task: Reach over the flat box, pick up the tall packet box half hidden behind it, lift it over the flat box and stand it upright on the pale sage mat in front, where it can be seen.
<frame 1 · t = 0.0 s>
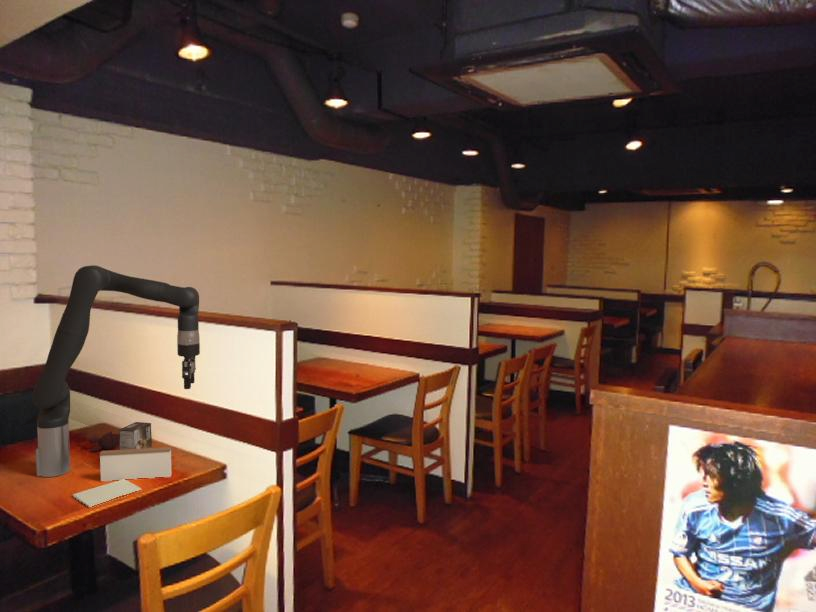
hand: (189, 386, 201), 29 cm above the table, tool pointing down, fingers open, 8 cm apart
coffee box: (136, 469, 198), on the table
mat: (107, 493, 178), on the table
icecream: (111, 449, 218), on the table
flat box: (136, 478, 190), on the table
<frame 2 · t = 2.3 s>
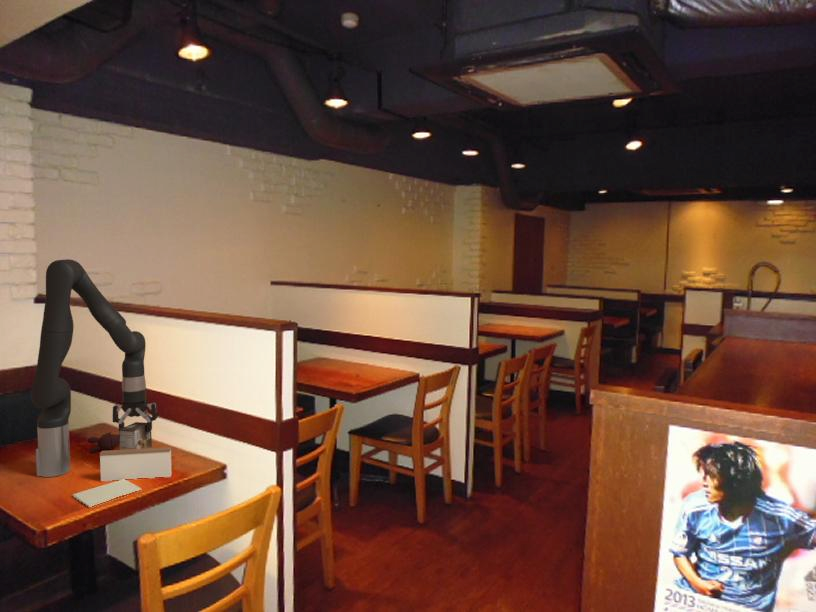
hand: (135, 432, 197), 14 cm above the table, tool pointing down, fingers open, 8 cm apart
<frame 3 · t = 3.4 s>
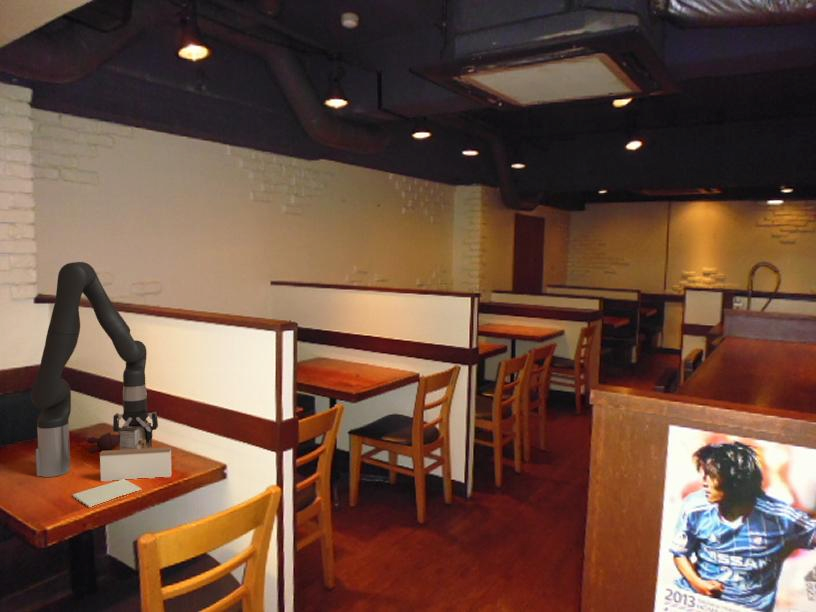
hand: (136, 441, 197), 10 cm above the table, tool pointing down, fingers closed on coffee box, 8 cm apart
coffee box: (137, 469, 198), on the table, touching gripper
everything else where it was.
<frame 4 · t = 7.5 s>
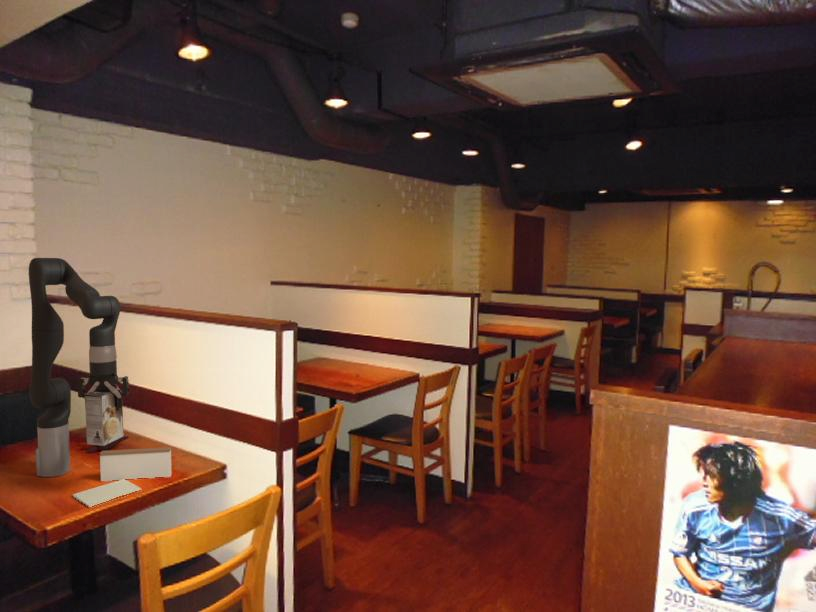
hand: (104, 409, 175), 28 cm above the table, tool pointing down, fingers closed on coffee box, 8 cm apart
coffee box: (105, 441, 176), point 17 cm above the table, touching gripper
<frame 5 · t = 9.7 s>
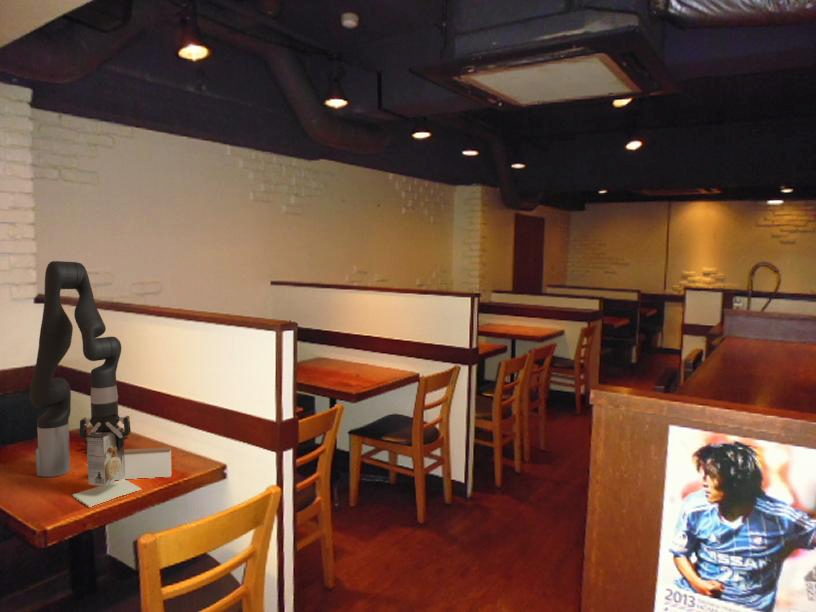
hand: (106, 449, 176), 15 cm above the table, tool pointing down, fingers closed on coffee box, 8 cm apart
coffee box: (107, 480, 177), point 4 cm above the table, touching gripper
when the fingers open (12 cm above the table, at t = 11.5 s): coffee box drops 1 cm, resting on mat.
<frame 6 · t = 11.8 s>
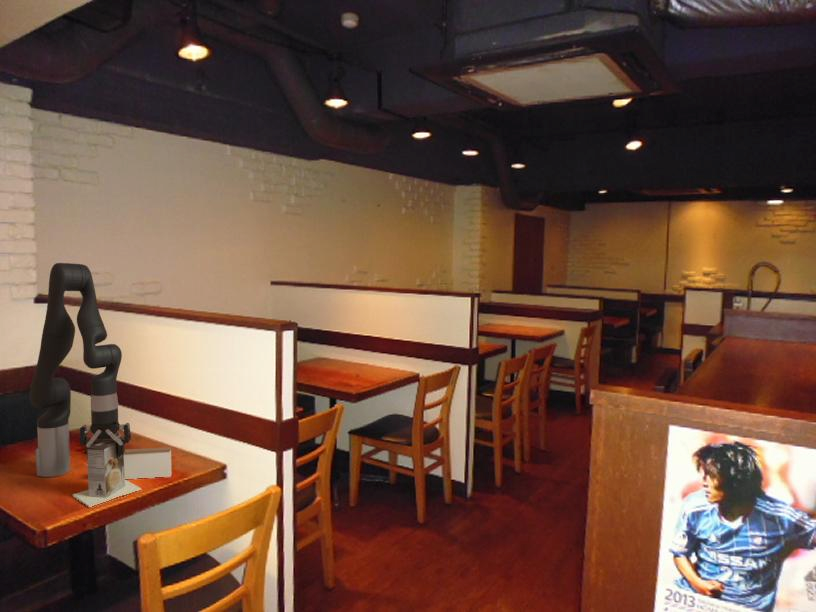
hand: (106, 456, 176), 12 cm above the table, tool pointing down, fingers open, 8 cm apart
coffee box: (107, 492, 178), point 1 cm above the table, touching mat
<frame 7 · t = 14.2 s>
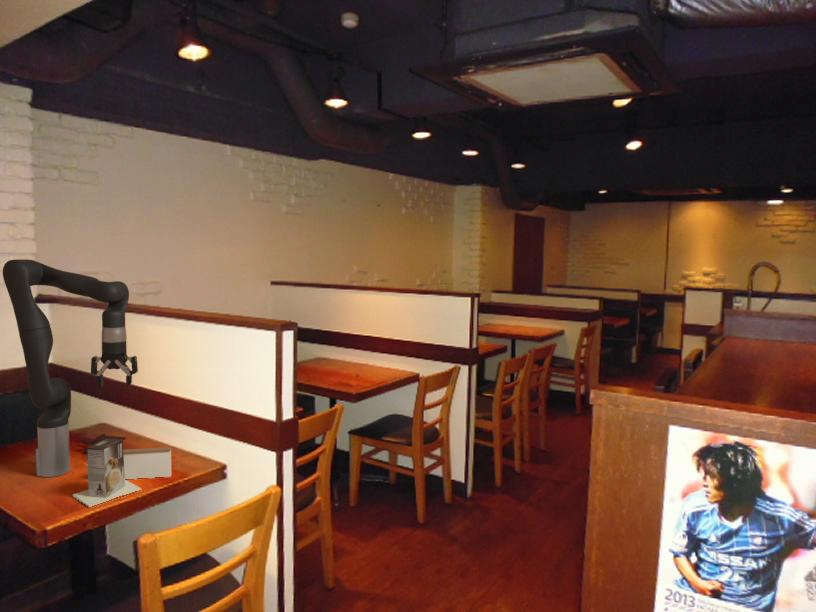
hand: (114, 386, 190), 32 cm above the table, tool pointing down, fingers open, 8 cm apart
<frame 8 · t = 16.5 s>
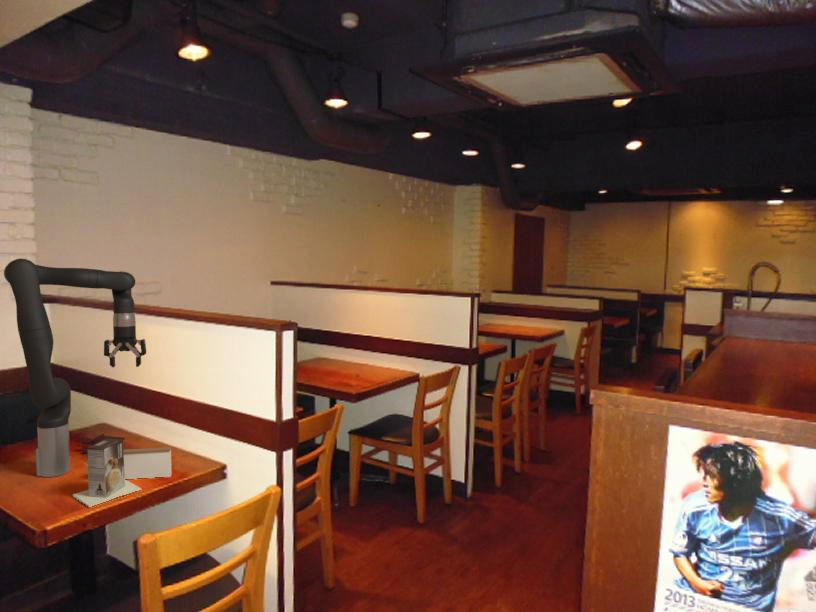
hand: (125, 366, 210), 34 cm above the table, tool pointing down, fingers open, 8 cm apart
at the end: coffee box 0.1 cm from the mat (horizontally); coffee box tilted 0°; the gripper is holding nothing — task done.
